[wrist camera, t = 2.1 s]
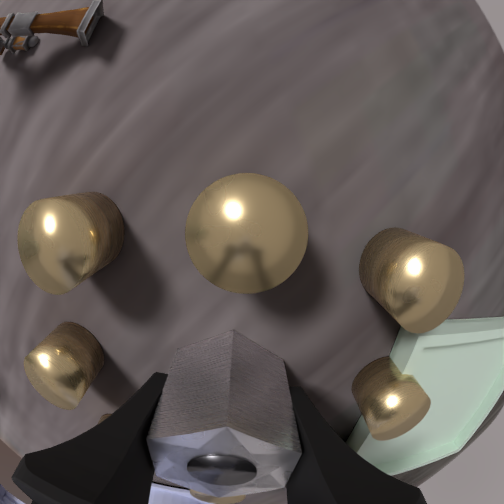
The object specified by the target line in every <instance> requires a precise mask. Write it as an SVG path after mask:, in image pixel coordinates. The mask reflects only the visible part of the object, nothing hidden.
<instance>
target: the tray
mask: <svg viewBox="0 0 504 504" xmlns="http://www.w3.org/2000/svg"><path fill="white" fill-rule="evenodd" d="M389 357H390V358H391V359H392V361H393V362H394V363H395V365H396V366H397V368H398V369H399V370H400V372H401V373H402V374H409V375H413V376H414V377H415V379H416V380H417V381H418V383H419V384H420V385H421V387H422V388H423V389H424V391H425V392H426V394H427V395H428V396H429V398H430V400H431V405H430V408H429V411H428V412H427V414H426V415H425V417H424V418H423V419H422V420H421V421H420V422H419V423H418V424H417V425H416V426H415V427H414V428H412V429H411V430H410V431H408V432H406V433H405V434H403V435H401V436H399V437H396V438H394V439H390V440H385V441H379V440H376V439H374V438H373V437H372V435H371V433H370V431H369V429H368V426H367V424H366V422H365V420H364V417H363V415H361V417H360V418H359V420H358V422H357V424H356V426H355V427H354V429H353V431H352V433H351V434H350V436H349V438H348V439H347V441H346V444H347V445H348V446H349V447H350V448H351V449H353V450H354V451H355V452H356V453H357V454H358V455H360V456H361V457H362V458H363V459H365V460H366V461H368V462H369V463H371V464H372V465H374V466H375V467H376V468H378V469H380V470H381V471H383V472H384V473H386V474H388V475H390V476H392V475H395V474H399V473H402V472H406V471H409V470H412V469H415V468H418V467H421V466H423V465H426V464H429V463H432V462H434V461H437V460H439V459H442V458H444V457H447V456H449V455H451V454H454V453H456V452H458V451H460V450H461V448H462V447H463V446H464V445H465V444H466V442H467V441H468V440H469V439H470V438H471V436H472V435H473V434H474V432H475V431H476V430H477V429H478V427H479V426H480V425H481V423H482V422H483V421H484V419H485V418H486V416H487V415H488V414H489V412H490V411H491V409H492V408H493V406H494V405H495V403H496V402H497V400H498V399H499V397H500V395H501V394H502V392H503V391H504V317H492V318H475V319H448V320H445V321H444V322H443V323H441V324H440V325H439V326H438V327H436V328H434V329H433V330H430V331H428V332H425V333H411V332H409V331H407V330H405V329H404V328H403V327H402V326H401V327H400V330H399V332H398V335H397V338H396V340H395V343H394V346H393V348H392V351H391V353H390V355H389Z"/></svg>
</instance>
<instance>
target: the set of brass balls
mask: <svg viewBox="0 0 504 504" xmlns="http://www.w3.org/2000/svg"><path fill="white" fill-rule="evenodd" d="M185 239H186V246H187V250H188V253H189V255H190V258H191V260H192V262H193V264H194V265H195V267H196V268H197V270H198V271H199V272H200V273H201V274H202V275H203V276H204V277H205V278H206V279H207V280H208V281H210V282H211V283H212V284H214V285H216V286H217V287H220V288H222V289H224V290H227V291H230V292H235V293H243V294H251V293H258V292H263V291H266V290H269V289H271V288H274V287H276V286H278V285H279V284H281V283H282V282H284V281H285V280H286V279H287V278H288V277H290V276H291V274H292V273H293V272H294V271H295V270H296V268H297V267H298V266H299V264H300V262H301V260H302V259H303V256H304V254H305V251H306V247H307V242H308V225H307V219H306V216H305V213H304V211H303V208H302V206H301V204H300V203H299V201H298V200H297V198H296V197H295V196H294V194H293V193H292V192H291V191H290V190H289V189H288V188H286V187H285V186H284V185H283V184H281V183H280V182H278V181H276V180H274V179H272V178H270V177H267V176H264V175H259V174H253V173H241V174H234V175H230V176H227V177H224V178H221V179H219V180H218V181H216V182H214V183H212V184H211V185H210V186H208V187H207V188H206V189H205V190H204V191H203V192H202V193H201V194H200V195H199V196H198V197H197V199H196V200H195V202H194V203H193V205H192V207H191V209H190V212H189V214H188V218H187V221H186V228H185ZM123 241H124V224H123V220H122V216H121V214H120V212H119V210H118V208H117V206H116V205H115V204H114V203H113V201H112V200H111V199H109V198H108V197H107V196H105V195H103V194H101V193H98V192H85V193H78V194H71V195H64V196H58V197H52V198H46V199H41V200H37V201H35V202H33V203H32V204H31V205H30V206H29V207H28V208H27V209H26V210H25V212H24V214H23V215H22V218H21V220H20V224H19V228H18V249H19V254H20V258H21V261H22V264H23V266H24V268H25V270H26V272H27V274H28V275H29V277H30V278H31V280H32V281H33V282H34V283H35V284H36V285H37V286H38V287H39V288H41V289H42V290H44V291H46V292H48V293H50V294H55V295H60V294H65V293H67V292H69V291H70V290H72V289H73V288H75V287H76V286H77V285H79V284H80V283H81V282H83V281H84V280H86V279H87V278H89V277H90V276H91V275H93V274H94V273H96V272H97V271H99V270H100V269H101V268H103V267H104V266H106V265H107V264H109V263H110V262H112V261H113V260H114V259H115V258H116V257H117V255H118V254H119V252H120V250H121V248H122V245H123ZM359 275H360V280H361V282H362V285H363V287H364V288H365V289H366V291H367V292H368V293H369V294H370V295H371V296H372V297H373V298H374V299H375V300H376V301H377V302H378V303H379V304H380V305H381V306H382V307H383V308H384V309H385V310H386V311H387V312H388V313H389V314H390V315H391V316H392V317H393V318H394V319H395V320H396V321H397V322H398V323H399V324H400V325H401V326H402V327H403V328H404V329H405V330H407V331H409V332H411V333H425V332H428V331H430V330H433V329H434V328H436V327H438V326H439V325H440V324H441V323H443V322H444V321H445V320H446V319H447V318H448V317H449V315H450V314H451V313H452V311H453V310H454V308H455V307H456V305H457V303H458V301H459V299H460V296H461V293H462V289H463V284H464V267H463V263H462V261H461V258H460V257H459V255H458V254H457V252H456V251H455V250H453V249H452V248H450V247H448V246H445V245H443V244H440V243H438V242H436V241H433V240H430V239H428V238H425V237H423V236H420V235H418V234H415V233H412V232H410V231H407V230H404V229H401V228H388V229H385V230H383V231H381V232H379V233H378V234H376V235H375V236H374V237H373V238H372V239H371V240H370V241H369V242H368V244H367V245H366V247H365V249H364V251H363V253H362V256H361V259H360V264H359ZM103 364H104V355H103V351H102V349H101V347H100V345H99V343H98V341H97V340H96V339H95V338H94V336H93V335H92V334H91V333H90V332H89V331H88V330H86V329H85V328H84V327H82V326H80V325H78V324H76V323H73V322H64V323H61V324H60V325H59V326H58V327H57V328H56V329H54V330H53V331H52V332H51V333H50V334H49V335H48V336H47V337H46V338H45V339H44V340H43V341H42V342H41V343H40V344H39V345H38V346H36V347H35V348H34V349H33V350H32V351H31V352H30V353H29V354H28V355H27V356H26V357H25V359H24V369H25V372H26V375H27V377H28V379H29V380H30V382H31V384H32V385H33V386H34V388H35V389H36V390H37V391H38V392H39V393H40V394H41V395H42V396H43V397H44V398H45V399H46V400H47V401H49V402H50V403H52V404H53V405H55V406H57V407H59V408H62V409H66V410H72V409H75V408H76V407H77V405H78V404H79V402H80V400H81V399H82V397H83V396H84V394H85V393H86V391H87V389H88V388H89V386H90V385H91V383H92V382H93V380H94V379H95V377H96V376H97V374H98V373H99V371H100V370H101V368H102V367H103ZM352 393H353V395H354V398H355V400H356V402H357V404H358V406H359V409H360V411H361V413H362V415H363V417H364V420H365V422H366V424H367V426H368V429H369V431H370V433H371V435H372V437H373V438H374V439H376V440H379V441H385V440H390V439H394V438H396V437H399V436H401V435H403V434H405V433H406V432H408V431H410V430H411V429H412V428H414V427H415V426H416V425H417V424H418V423H419V422H420V421H421V420H422V419H423V418H424V417H425V415H426V414H427V412H428V411H429V408H430V405H431V400H430V398H429V396H428V395H427V394H426V392H425V391H424V389H423V388H422V387H421V385H420V384H419V383H418V381H417V380H416V379H415V377H414V376H413V375H409V374H402V373H401V372H400V370H399V369H398V368H397V366H396V365H395V363H394V362H393V361H392V359H391V358H390V357H389V356H387V357H382V358H379V359H377V360H375V361H373V362H371V363H369V364H368V365H367V366H365V367H364V368H363V369H362V370H361V371H360V372H359V373H358V375H357V376H356V377H355V379H354V381H353V384H352ZM110 415H111V414H105V415H103V416H102V417H101V418H100V420H99V422H98V424H99V423H101V422H102V421H103V420H105V419H106V418H108V417H109V416H110ZM98 424H97V425H98ZM190 494H191V495H192V496H193V497H194V498H196V499H198V500H201V501H204V502H208V503H214V504H232V503H237V502H240V501H242V500H244V499H245V495H239V496H231V497H221V498H218V497H215V496H211V495H208V494H204V493H201V492H198V491H195V490H192V489H190Z"/></svg>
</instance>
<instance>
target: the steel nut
mask: <svg viewBox="0 0 504 504" xmlns="http://www.w3.org/2000/svg"><path fill="white" fill-rule="evenodd" d="M146 440H147V444H148V448H149V452H150V455H151V459H152V462H153V466H154V469H155V472H156V476H158V477H160V478H163V479H165V480H168V481H170V482H173V483H175V484H178V485H181V486H183V487H186V488H189V489H192V490H195V491H198V492H201V493H204V494H208V495H211V496H215V497H218V498H221V497H231V496H239V495H246V494H253V493H259V492H265V491H270V490H275V489H280V488H284V486H285V485H286V483H287V481H288V479H289V477H290V476H291V474H292V472H293V470H294V468H295V466H296V464H297V462H298V460H299V458H300V456H301V454H302V451H301V446H300V441H299V436H298V431H297V426H296V420H295V415H294V410H293V405H292V400H291V395H290V390H289V385H288V380H287V375H286V370H285V365H284V361H283V359H281V358H280V357H278V356H276V355H274V354H273V353H271V352H269V351H268V350H266V349H264V348H262V347H261V346H259V345H257V344H256V343H254V342H252V341H251V340H249V339H247V338H246V337H244V336H243V335H241V334H239V333H238V332H236V331H234V330H231V331H228V332H226V333H223V334H220V335H217V336H214V337H211V338H208V339H205V340H202V341H199V342H196V343H193V344H190V345H187V346H184V347H181V348H178V349H177V352H176V355H175V357H174V360H173V363H172V366H171V368H170V371H169V374H168V377H167V380H166V382H165V385H164V388H163V391H162V394H161V397H160V400H159V402H158V405H157V408H156V411H155V414H154V417H153V420H152V423H151V426H150V429H149V432H148V435H147V438H146Z"/></svg>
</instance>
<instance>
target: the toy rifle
mask: <svg viewBox="0 0 504 504" xmlns="http://www.w3.org/2000/svg"><path fill="white" fill-rule="evenodd" d="M103 15H104V11H103V0H93V2H92V3H91V5H90V7H86V8H81V9H75V10H67V11H60V12H54V13H46V14H38V12H37V11H35V12H32V13H17V14H16V16H15V15H14V13H12V14H8V16H7V17H3V18H0V35H3V36H4V37H5V38H7V40H6V42H5V41H4V40H3V39H2V38H1V37H0V55H2V53H3V51H4V49H5V48H6V49H9V50H10V51H11V52H12V53H13V54H15V52H16V50H26V51H28V49H29V47H33V46H35V45H36V44H37V43H38V40H39V39H38V37H37V36H34V33H52V34H61V35H69V36H74V37H78V38H79V40H80V42H81V45H82V46H88V41H89V39H90V36H91V34H92V32H93V30H94V28H95V26H96V24H97V22H98V20H99V18H100V17H101V16H103ZM11 35H12V36H13V37H12V39H11V38H10V37H11ZM4 43H5V44H4Z"/></svg>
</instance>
